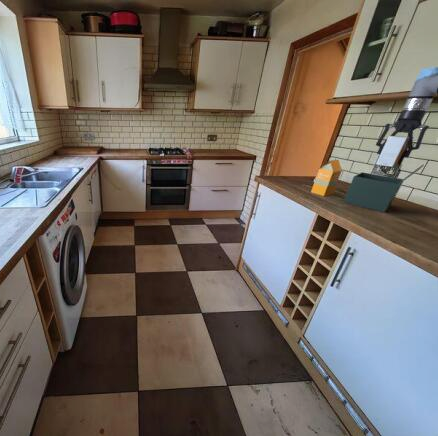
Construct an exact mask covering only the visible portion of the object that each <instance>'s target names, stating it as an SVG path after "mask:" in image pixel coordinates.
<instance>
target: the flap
mask: <svg viewBox="0 0 438 436" xmlns="http://www.w3.org/2000/svg"><path fill="white" fill-rule="evenodd" d="M423 167H424V164H421V165H420V166H419V167H417V168H416V169H415V170H414V171H412V172H410V173H409V174H407V176H406V177H404V178H402V179H403V180H402V181H401V182H403V183H404V181H406V180H407V179H408V178H410V177H411V176H413V175H414V174H415V173H417V172H418V171H419V170H421V169H422V168H423ZM401 182H400V183H401Z"/></svg>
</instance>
